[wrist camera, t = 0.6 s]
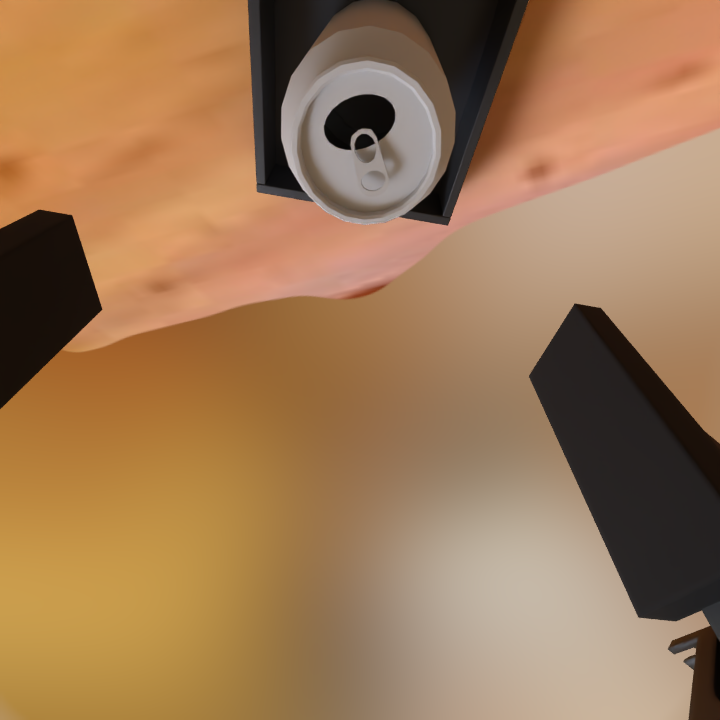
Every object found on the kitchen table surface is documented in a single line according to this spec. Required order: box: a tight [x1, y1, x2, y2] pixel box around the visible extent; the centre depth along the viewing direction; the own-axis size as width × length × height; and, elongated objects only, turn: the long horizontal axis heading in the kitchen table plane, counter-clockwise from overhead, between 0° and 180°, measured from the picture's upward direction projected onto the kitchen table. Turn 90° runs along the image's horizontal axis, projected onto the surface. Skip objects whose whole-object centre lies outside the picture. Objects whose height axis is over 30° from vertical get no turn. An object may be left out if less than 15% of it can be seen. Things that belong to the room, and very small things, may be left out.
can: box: [281, 0, 456, 225], centre depth 19 cm, size 8×8×12 cm
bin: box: [248, 0, 529, 225], centre depth 22 cm, size 13×13×4 cm
